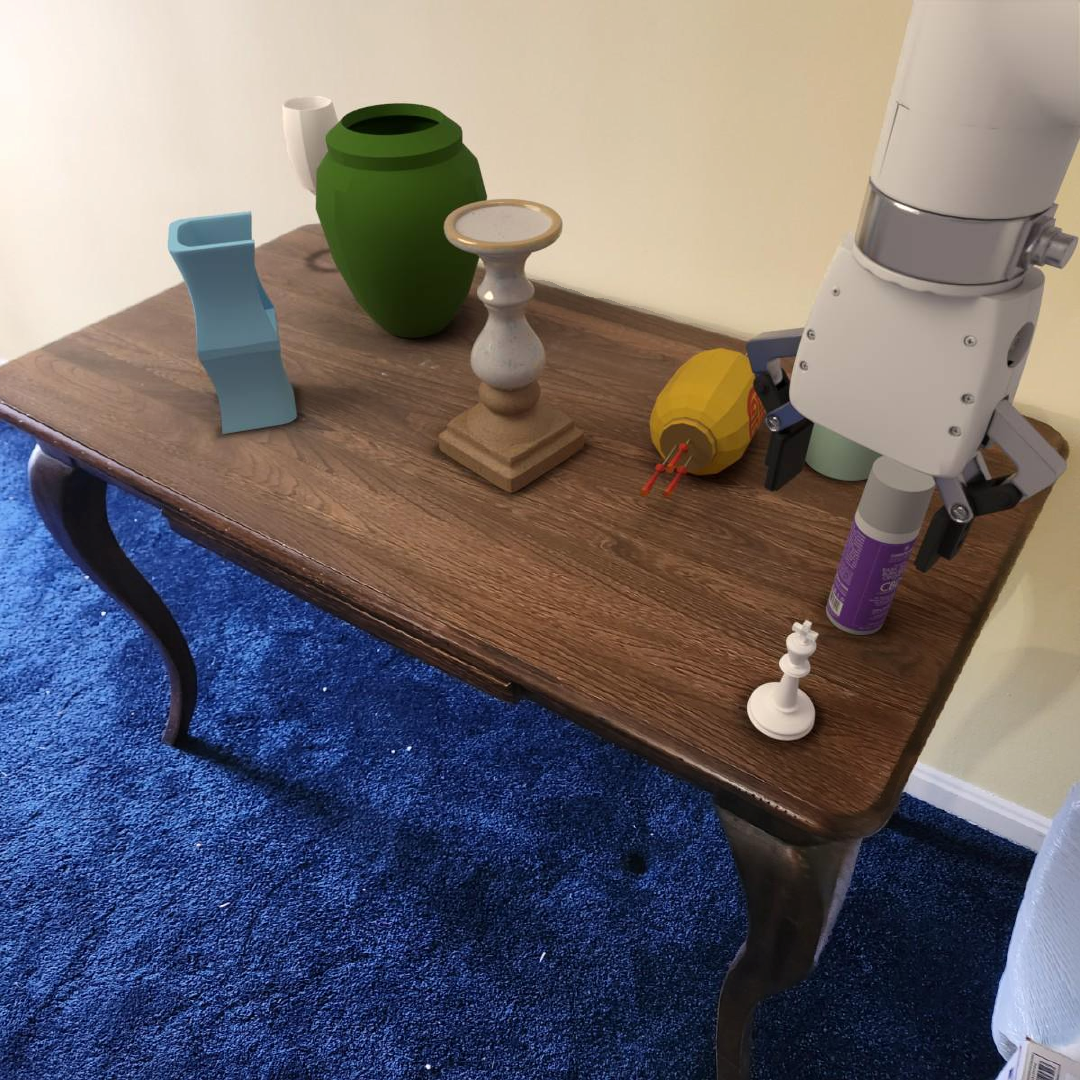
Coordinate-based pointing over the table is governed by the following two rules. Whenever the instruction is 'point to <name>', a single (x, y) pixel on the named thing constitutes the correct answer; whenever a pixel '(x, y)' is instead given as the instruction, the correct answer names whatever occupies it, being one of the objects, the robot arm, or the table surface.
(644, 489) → the lantern
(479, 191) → the vase
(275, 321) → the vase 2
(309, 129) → the cup
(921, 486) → the container
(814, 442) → the upturned tumbler
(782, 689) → the chess piece
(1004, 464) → the table surface
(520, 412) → the candle holder
